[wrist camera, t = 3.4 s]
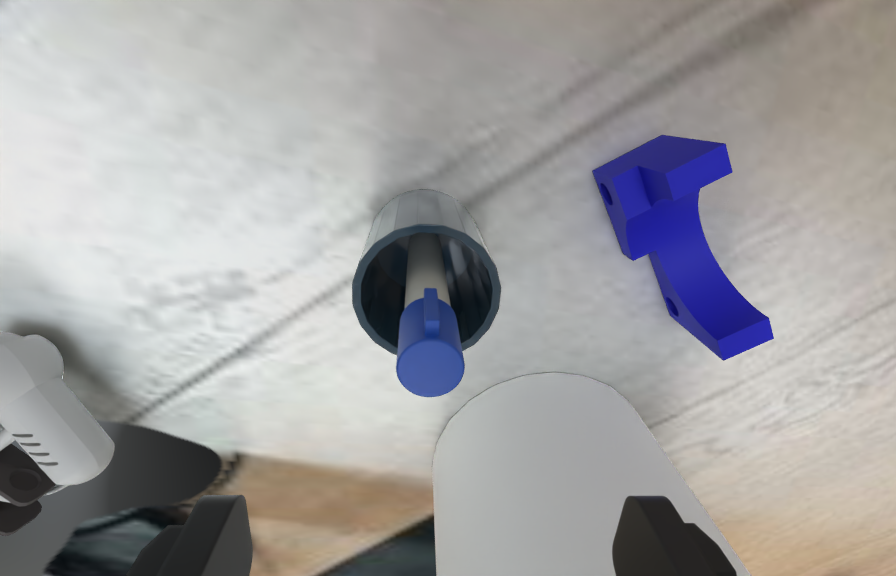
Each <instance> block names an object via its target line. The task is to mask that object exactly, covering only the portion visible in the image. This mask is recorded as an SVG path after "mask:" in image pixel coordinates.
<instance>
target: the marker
mask: <svg viewBox="0 0 896 576" xmlns="http://www.w3.org/2000/svg"><path fill="white" fill-rule="evenodd" d="M464 369H465V365H464V358H463V353H462V347H461V341H460V336H459V330H458V325H457V319H456V315H455V313H454V311H453V309H452V308H451V305H450V299H449V293H448V287H447V280H446V274H445V268H444V262H443V256H442V249H441V243H440V240H439V238H438V237H437V236H436V235H435V234H434V233H417V234H414V235H413V236H412V237H411V239H410V241H409V246H408V261H407V277H406V293H405V309H404V311H403V312H402V315H401V318H400V327H399V340H398V352H397V365H396V371H397V376H398V378H399V380H400V382H401V383H402V385H403V386H404V387H405V388H406V389H407V390H409V391H410V392H412V393H414V394H416V395H419V396H423V397H436V396H441V395H444V394H446V393H448V392H450V391H451V390H453V389H454V388H455V387H456V386H457V385H458V384H459V382H460V381H461V379H462V377H463V374H464Z"/></svg>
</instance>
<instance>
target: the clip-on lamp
mask: <svg viewBox="0 0 896 576" xmlns="http://www.w3.org/2000/svg"><path fill="white" fill-rule="evenodd" d="M63 371H64V364H63V358H62V356H61V354H60V352H59V350H58V349H57V347H56V346H55V345H54V344H53V343H52V342H50V341H49V340H47V339H46V338H44V337H42V336H40V335H37V334H34V335H28V336H24V337H22V336H20V335H17V334H14V333H9V332H0V431H1V432H0V535H2V536H8V535H11V534H13V533H15V532H16V531H18V530H19V529H21V528H22V527H23V526H25V525H26V524H28V523H29V522H30V521H32V520H33V519H34V518H35V517H36V516H37V515H38V514H39V513H40V512H41V508H42V506H41V504H40V503H39V502H38V501H37V499H39V498H40V497H42V496H43V495H48V494H52V493H55V492H57V491H59V490H61V489H63V488H65V487H67V486H68V485H75V484H80V483H83V482H86V481H88V480H91V479H93V478H94V477H96V476H97V475H98V474H100V473H101V472H102V471H103V470H104V469H105V468H106V467H107V465H108V464H109V463H110V461H111V459H112V457H113V454H114V442H113V441H112V440H111V439H110V437H109V436H108V435H107V433H106V432H105V431H104V430H103V429H102V427H101V426H100V425H99V424H98V422H97V421H96V420H95V419H94V417H93V416H92V415H91V414H90V412H89V411H88V410H87V409H86V408H85V406H84V405H83V404H82V403H81V401H80V400H79V399H78V398H77V396H76V395H75V394H74V393H73V392H72V390H71V389H70V388H69V387H68V385H67V384H66V383H65V382H64V381H63V379H62V375H63ZM15 440H16V441H17V442H18V444H19V445H20V446H21V447H22V448H23V449H24V450H25V451H26V452H27V453H28V455H29V456H28V455H27V454H25V453H24V452H22V451H21V450H19V449H18V448H17V447H15V446H14V445H12V444H11V443H12V442H13V441H15ZM56 484H59V486H57V487H54V486H55V485H56Z"/></svg>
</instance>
